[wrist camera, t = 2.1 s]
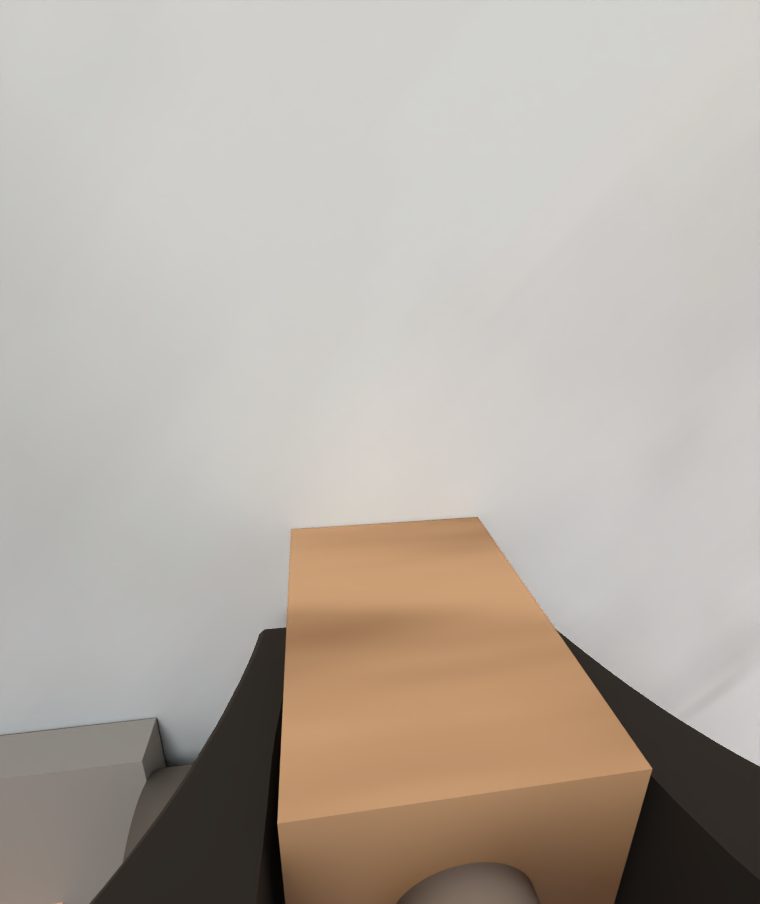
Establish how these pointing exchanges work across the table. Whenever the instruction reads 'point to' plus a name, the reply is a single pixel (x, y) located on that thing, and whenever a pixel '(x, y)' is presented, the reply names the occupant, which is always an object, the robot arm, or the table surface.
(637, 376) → the table surface
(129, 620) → the table surface
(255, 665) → the robot arm
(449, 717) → the block
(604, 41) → the table surface
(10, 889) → the chassis
